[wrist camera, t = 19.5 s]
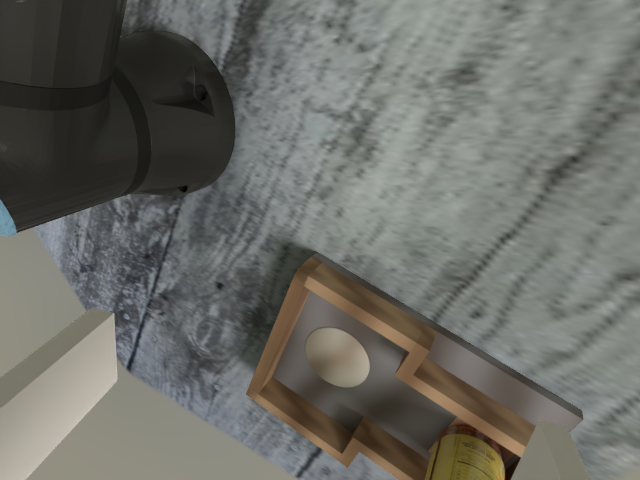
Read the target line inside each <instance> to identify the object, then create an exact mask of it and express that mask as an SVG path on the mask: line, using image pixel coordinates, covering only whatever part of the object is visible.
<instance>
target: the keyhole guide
mask: <svg viewBox="0 0 640 480" xmlns="http://www.w3.org/2000/svg"><path fill="white" fill-rule="evenodd" d="M246 395H248V396H249V397H250V398H252V399H253V400H255V401H256V402H257V403H259V404H260V405H261V406H263V407H264V408H266V409H267V410H268V411H270V412H271V413H273V414H274V415H275V416H277V417H278V418H280V419H281V420H282V421H284V422H285V423H286V424H288V425H289V426H291V427H292V428H293V429H295V430H296V431H298V432H299V433H300V434H302V435H303V436H304V437H306V438H307V439H309V440H310V441H311V442H313V443H314V444H316V445H317V446H318V447H320V448H321V449H323V450H324V451H325V452H327V453H328V454H329V455H331V456H332V457H334V458H335V459H336V460H338V461H339V462H341V463H342V464H343V465H345V466H346V467H349V465H350V464H351V462H352V461H353V459H354V458H355V457H356V455H357V454H358V452H361V453H362V454H363V455H365V456H366V457H368V458H369V459H371V460H372V461H373V462H375V463H376V464H378V465H379V466H380V467H382V468H383V469H385V470H386V471H388V472H389V473H390V474H392V475H393V476H395V477H396V478H397V479H399V480H425V477H426V473H427V469H428V465H429V461H430V458H431V454H432V450H433V448H434V446H435V444H436V442H437V438H438V436H439V434H440V433H441V432H442V431H443V430H444V429H447V428H449V427H453V426H458V425H467V426H470V427H474V428H476V429H477V430H479V431H480V432H482V433H484V434H485V435H487V436H488V437H490V438H491V439H493V440H494V441H495V442H496V444H497V445H498V447H499V449H500V451H501V453H502V457H503V460H504V468H505V480H511V478H512V476H513V474H514V471H515V469H516V467H517V465H518V463H519V461H520V459H521V457H522V455H523V452H524V450H525V448H526V446H527V444H528V442H529V440H530V438H531V436H532V434H533V431H534V429H535V427H536V425H537V423H538V421H539V420H542V421H546V422H550V423H553V424H557V425H561V426H565V427H567V428H568V430H569V432H570V431H571V430H572V429H574V428H575V427H576V426H577V425H578V424H579V423H580V422H581V421H582V420H583V414H582V411H581V410H579V409H578V408H576V407H574V406H573V405H571V404H569V403H568V402H566V401H564V400H563V399H561V398H559V397H558V396H556V395H554V394H553V393H551V392H549V391H548V390H546V389H544V388H543V387H541V386H539V385H538V384H536V383H534V382H533V381H531V380H529V379H528V378H526V377H524V376H523V375H521V374H519V373H518V372H516V371H514V370H513V369H511V368H509V367H508V366H506V365H504V364H503V363H501V362H499V361H498V360H496V359H494V358H493V357H491V356H489V355H488V354H486V353H484V352H483V351H481V350H479V349H478V348H476V347H474V346H473V345H471V344H469V343H468V342H466V341H464V340H463V339H461V338H459V337H458V336H456V335H454V334H453V333H451V332H449V331H448V330H446V329H444V328H443V327H441V326H439V325H438V324H436V323H434V322H433V321H431V320H429V319H428V318H426V317H424V316H423V315H421V314H419V313H418V312H416V311H414V310H413V309H411V308H409V307H408V306H406V305H404V304H403V303H401V302H399V301H398V300H396V299H394V298H393V297H391V296H389V295H388V294H386V293H384V292H383V291H381V290H379V289H378V288H376V287H374V286H373V285H371V284H369V283H368V282H366V281H364V280H363V279H361V278H359V277H358V276H356V275H354V274H353V273H351V272H349V271H348V270H346V269H344V268H343V267H341V266H339V265H338V264H336V263H334V262H333V261H331V260H329V259H328V258H326V257H324V256H323V255H321V254H319V253H318V252H316V253H315V254H314V255H312V256H311V257H310V258H309V259H308V260H307V261H305V262H304V263H303V264H302V265H301V266H300V267H298V268H297V270H296V272H295V275H294V277H293V280H292V282H291V284H290V287H289V289H288V292H287V294H286V297H285V299H284V302H283V304H282V307H281V309H280V312H279V314H278V316H277V319H276V321H275V324H274V326H273V329H272V331H271V334H270V336H269V339H268V341H267V344H266V346H265V349H264V351H263V353H262V356H261V358H260V361H259V363H258V366H257V368H256V371H255V373H254V376H253V378H252V381H251V383H250V386H249V388H248V390H247V393H246Z"/></svg>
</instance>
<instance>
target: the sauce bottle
mask: <svg viewBox="0 0 640 480" xmlns="http://www.w3.org/2000/svg"><path fill="white" fill-rule="evenodd" d="M425 480H505V468H504V460H503V457H502V453H501V451H500V449H499V447H498V445H497V444H496V442H495V441H494V440H493V439H491V438H490V437H488V436H487V435H485V434H484V433H482V432H480V431H479V430H477V429H476V428H474V427H470V426H467V425H458V426H453V427H449V428H447V429H444V430H443V431H442V432H441V433H440V434H439V436H438V438H437V442H436V444H435V446H434V448H433V450H432V454H431V458H430V461H429V465H428V469H427V473H426V477H425Z"/></svg>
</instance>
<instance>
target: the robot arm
mask: <svg viewBox="0 0 640 480" xmlns="http://www.w3.org/2000/svg"><path fill="white" fill-rule="evenodd" d="M126 4H127V0H0V236H8V237H9V236H12V235H14V234H16V233H18V232H20V231H23V230H26V229H29V228H32V227H35V226H38V225H41V224H44V223H46V222H49V221H52V220H55V219H58V218H61V217H64V216H67V215H69V214H72V213H75V212H78V211H81V210H84V209H87V208H90V207H92V206H95V205H98V204H101V203H104V202H107V201H110V200H113V199H115V198H118V197H121V196H124V195H127V194H147V195H165V196H179V195H185V194H189V193H192V192H194V191H197V190H200V189H202V188H205V187H207V186H209V185H210V184H212V183H213V182H214V181H216V180H217V179H218V178H219V176H220V175H221V174H222V173H223V171H224V170H225V168H226V166H227V164H228V162H229V160H230V157H231V154H232V151H233V146H234V140H235V118H234V111H233V106H232V101H231V98H230V95H229V92H228V89H227V86H226V84H225V82H224V80H223V78H222V76H221V74H220V72H219V70H218V69H217V67H216V66H215V64H214V63H213V62H212V60H211V59H210V58H209V57H208V55H207V54H206V53H205V52H204V51H203V50H202V49H200V48H199V47H198V46H197V45H196V44H194V43H193V42H191V41H190V40H188V39H186V38H184V37H182V36H180V35H177V34H173V33H168V32H155V31H142V32H136V33H132V34H129V35H127V36H125V37H123V38H120V34H121V28H122V23H123V18H124V13H125V8H126ZM116 381H117V361H116V342H115V323H114V313H111V312H107V311H103V310H99V309H95V308H91V309H90V310H89V311H87V312H86V313H85V314H83V315H82V316H81V317H79V318H78V319H77V320H75V321H74V322H73V323H72V324H70V325H69V326H68V327H66V328H65V329H64V330H62V331H61V332H60V333H58V334H57V335H56V336H55V337H53V338H52V339H51V340H49V341H48V342H47V343H45V344H44V345H43V346H41V347H40V348H39V349H38V350H36V351H35V352H34V353H32V354H31V355H30V356H28V357H27V358H26V359H24V360H23V361H22V362H20V363H19V364H18V365H16V366H15V367H14V368H13V369H11V370H10V371H9V372H7V373H6V374H5V375H3V376H2V377H1V378H0V480H26V479H27V477H28V476H29V475H30V474H31V473H32V472H33V471H34V470H35V469H36V468H37V467H38V466H39V465H40V463H41V462H42V461H43V460H44V459H45V458H46V457H47V456H48V455H49V454H50V453H51V452H52V450H53V449H54V448H55V447H56V446H57V445H58V444H59V443H60V442H61V441H62V440H63V439H64V438H65V436H66V435H67V434H68V433H69V432H70V431H71V430H72V429H73V428H74V427H75V426H76V425H77V423H78V422H79V421H80V420H81V419H82V418H83V417H84V416H85V415H86V414H87V413H88V412H89V410H90V409H91V408H92V407H93V406H94V405H95V404H96V403H97V402H98V401H99V400H100V399H101V398H102V396H104V394H105V393H106V392H107V391H108V390H109V389H110V388H111V386H112V385H114V384H115V382H116ZM511 480H590V478H589V476H588V473H587V471H586V469H585V466H584V464H583V462H582V460H581V457H580V455H579V453H578V451H577V448H576V446H575V444H574V441H573V439H572V437H571V435H570V432H569V430H568V428H567V427H565V426H561V425H557V424H553V423H550V422H546V421H542V420H539V421H538V423H537V425H536V427H535V429H534V431H533V434H532V436H531V438H530V440H529V442H528V444H527V446H526V448H525V450H524V452H523V455H522V457H521V459H520V461H519V463H518V465H517V467H516V469H515V471H514V474H513V476H512V478H511Z"/></svg>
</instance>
